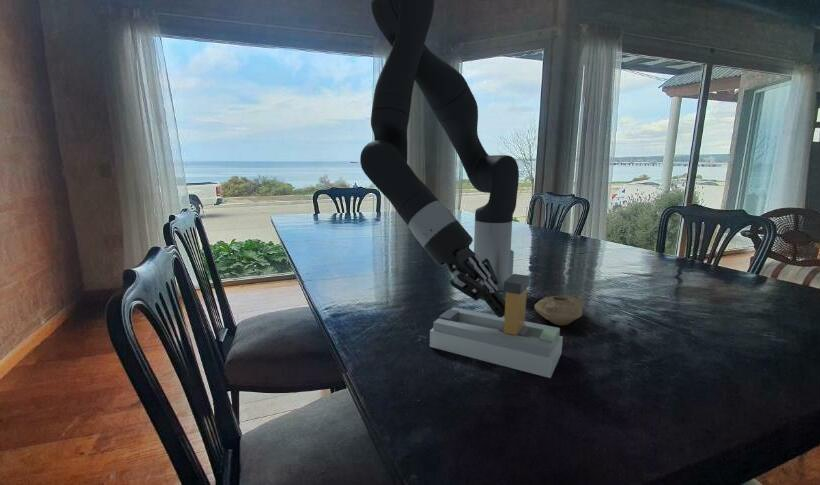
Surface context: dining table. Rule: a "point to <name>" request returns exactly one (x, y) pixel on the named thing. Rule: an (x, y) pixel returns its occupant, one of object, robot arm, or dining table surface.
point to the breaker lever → (515, 305)
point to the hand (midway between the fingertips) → (505, 313)
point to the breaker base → (497, 352)
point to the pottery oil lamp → (560, 308)
